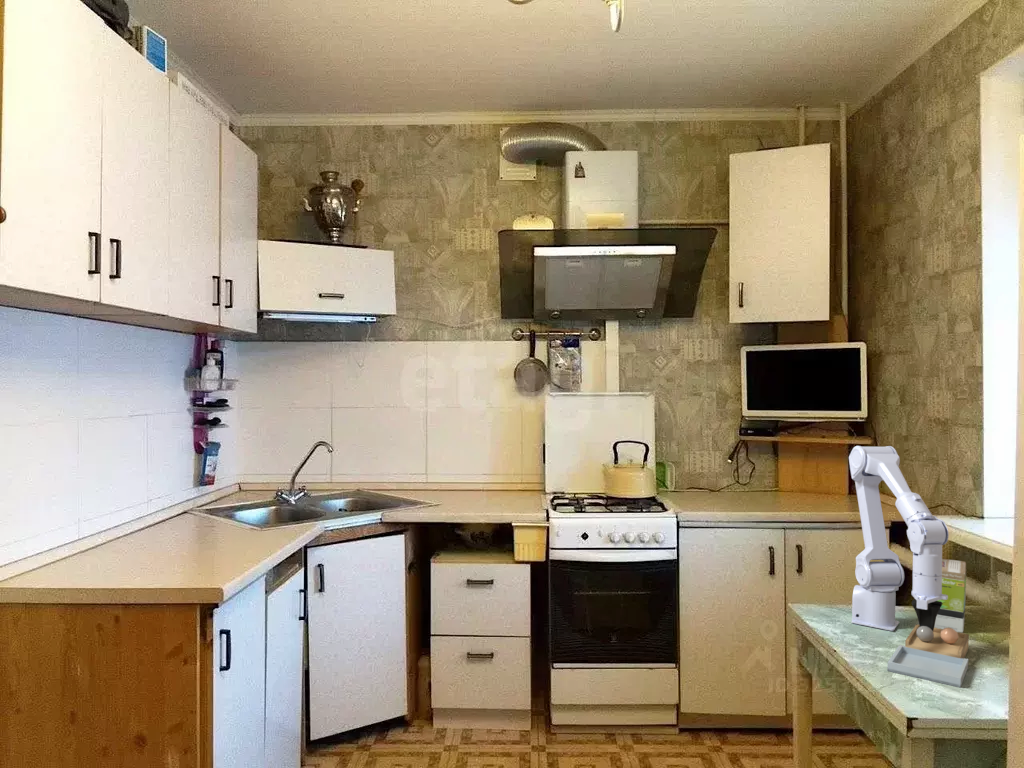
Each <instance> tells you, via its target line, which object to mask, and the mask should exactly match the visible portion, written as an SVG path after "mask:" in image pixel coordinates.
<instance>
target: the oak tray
mask: <svg viewBox="0 0 1024 768" xmlns="http://www.w3.org/2000/svg"><path fill="white" fill-rule="evenodd" d="M919 627H920V626H919V625H918V623H916V624H915V626H914V627H913V628H912V630H911V632H909V634H908V636H907V638H906V639H905V645H904V646H905V647H908V648H913V649H918V650H923V651H927V652H932V653H937V654H942V655H947V656H951V657H956V658H965V657H966V656H967V653H968V650H969V649H970V648H969V647H970V646H969V640H970V639H969V638H970V637H969V635H970V634H968V633H964V632H957V634H958V640H957V641H956V642H955V643H953V644H949V643H946V642H944V641H943V640H942V638H941V635H940V633H941V631H942V629H938V628H934V630H933V633H934V637H933V639H932V640H931V641H929V642H924V641H921V640H920V639H919V638H918V637H917V634H916V631H917V629H918V628H919ZM965 659H966V658H965Z"/></svg>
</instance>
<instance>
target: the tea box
mask: <svg viewBox="0 0 1024 768" xmlns="http://www.w3.org/2000/svg"><path fill="white" fill-rule="evenodd" d="M966 592H967V562H966V561H963V560H955V559H947V558H942V594H944V595H948V599H947V600H943V599H941V600H938V601H940V602H942V606H941V608H940V609H939V611H938V614H937V617H936V621H935V626H934V628H938V629H944V628H952V629H954V630H955V631H956V632H959V633H964V630H965V629H964V627H965V616H966V615H965V614H966V613H965V612H966V594H967V593H966ZM917 625H919V621H918V620H917Z"/></svg>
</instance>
